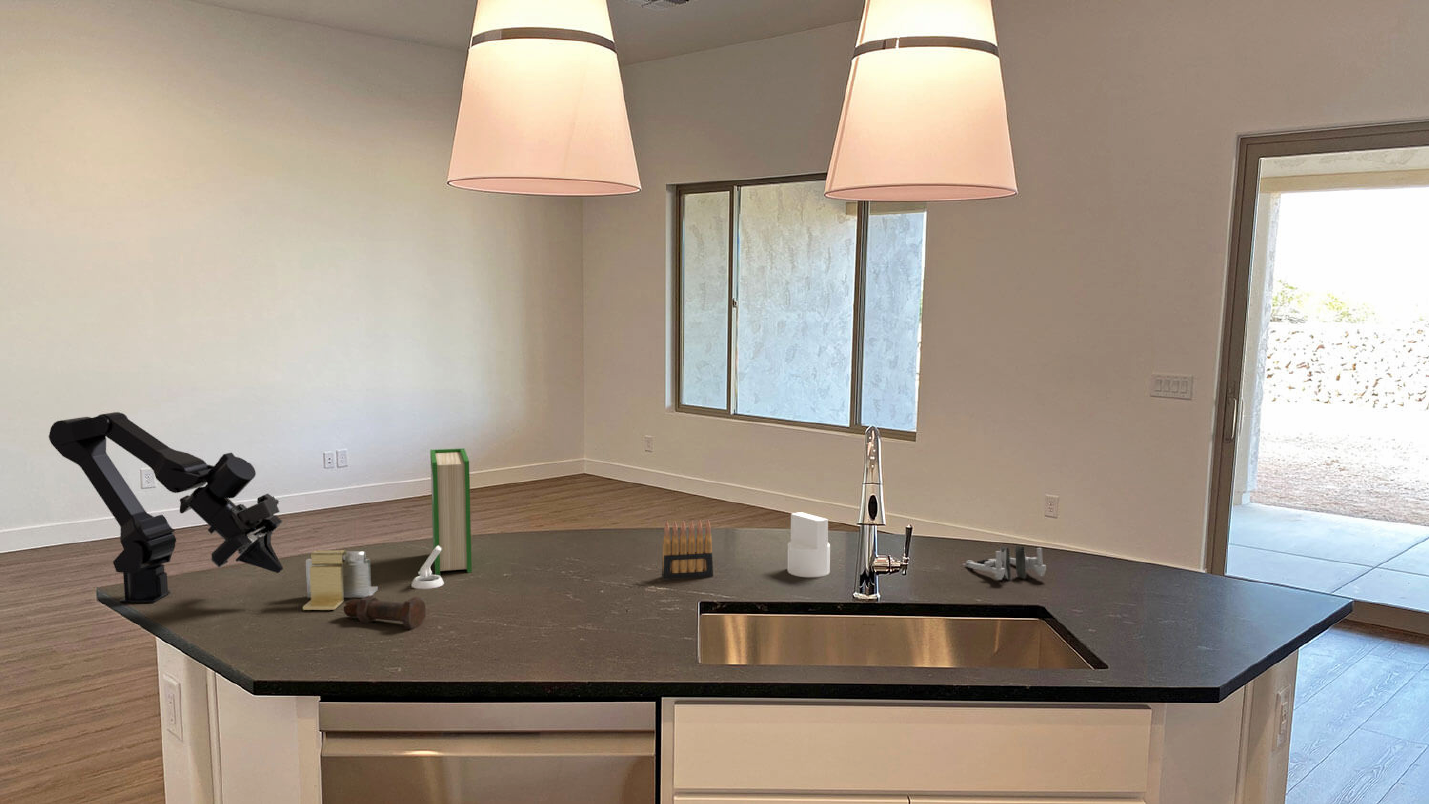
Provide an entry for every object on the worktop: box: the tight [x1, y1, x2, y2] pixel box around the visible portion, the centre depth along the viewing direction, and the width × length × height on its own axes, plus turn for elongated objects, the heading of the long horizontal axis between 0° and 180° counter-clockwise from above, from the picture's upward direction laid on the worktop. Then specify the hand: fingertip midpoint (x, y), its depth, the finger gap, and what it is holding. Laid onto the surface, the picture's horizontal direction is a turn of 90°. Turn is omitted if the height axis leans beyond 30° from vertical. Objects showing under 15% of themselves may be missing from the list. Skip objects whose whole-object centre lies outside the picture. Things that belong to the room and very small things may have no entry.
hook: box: [411, 545, 445, 590], centre depth 200 cm, size 6×10×6 cm
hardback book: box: [429, 448, 473, 576], centre depth 215 cm, size 18×7×24 cm, turn 17°
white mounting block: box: [305, 550, 379, 599], centre depth 192 cm, size 12×8×10 cm
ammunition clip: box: [661, 519, 714, 581], centre depth 206 cm, size 11×2×12 cm, turn 102°
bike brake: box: [962, 544, 1047, 581], centre depth 212 cm, size 14×7×20 cm
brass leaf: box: [302, 549, 347, 611], centre depth 186 cm, size 6×7×10 cm
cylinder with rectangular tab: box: [787, 511, 831, 578], centre depth 211 cm, size 9×9×12 cm
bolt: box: [343, 595, 427, 630], centre depth 177 cm, size 6×5×15 cm
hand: (280, 570), depth 187 cm, fingers closed
